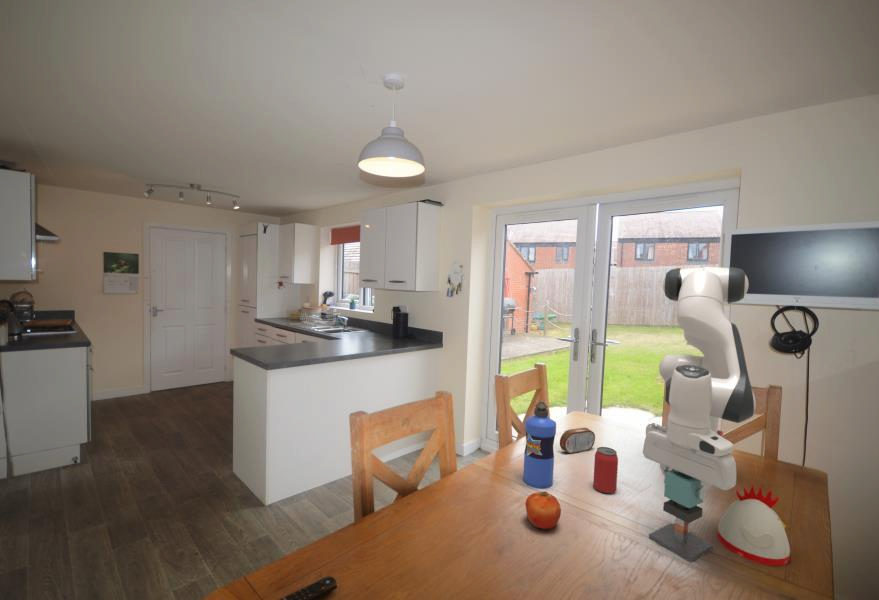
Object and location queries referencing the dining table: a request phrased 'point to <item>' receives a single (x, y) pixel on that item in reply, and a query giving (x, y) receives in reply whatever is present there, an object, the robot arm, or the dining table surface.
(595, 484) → the beer can
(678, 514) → the ring
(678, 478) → the sleeve
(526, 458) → the water bottle
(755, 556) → the kitchen timer
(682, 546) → the pipe stand
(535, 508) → the tomato
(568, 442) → the tin
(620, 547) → the dining table surface
